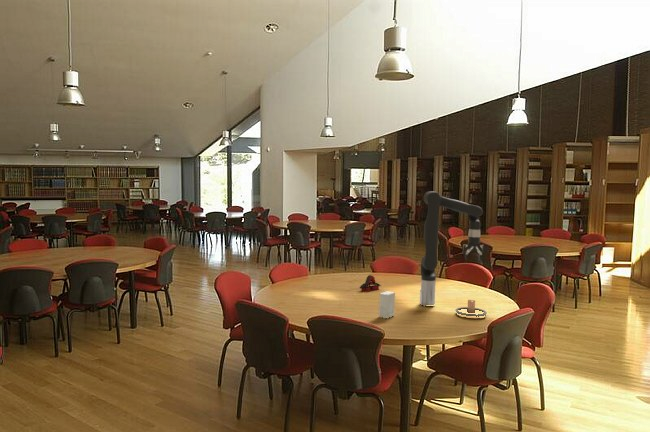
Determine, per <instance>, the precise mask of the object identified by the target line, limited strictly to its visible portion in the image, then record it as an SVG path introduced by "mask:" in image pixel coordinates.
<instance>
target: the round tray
mask: <svg viewBox="0 0 650 432" xmlns="http://www.w3.org/2000/svg"><path fill="white" fill-rule="evenodd" d="M461 309H468V306H462V307H457V308H455V311H456V312H457V313H458V314H461V315H466V316H476V317H477V316H478V317H479V316H484V315H486V314H487V313H488V312H487V311H486V310H485V309H481V308H478V307H475V310H479V311H482V312H484V313H483V314H478V315H476V314H466V313H462V312H459V311H458V310H461Z"/></svg>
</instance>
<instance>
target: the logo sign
mask: <svg viewBox="0 0 650 432" xmlns="http://www.w3.org/2000/svg"><path fill="white" fill-rule="evenodd" d="M380 287H382V285H381V284H380V283H378V282H376V280H375V276H373V275H371V274H368V275H367V277H366V279H365V282H364V283H362V284H361V285H360V286H359V289H360V290H361V292H371V291H378V290H379V289H380Z"/></svg>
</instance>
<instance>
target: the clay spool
mask: <svg viewBox="0 0 650 432" xmlns="http://www.w3.org/2000/svg"><path fill="white" fill-rule="evenodd" d="M467 307H468V309H467V312H468V313H475V308H476V300H474V299H467Z"/></svg>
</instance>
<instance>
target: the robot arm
mask: <svg viewBox="0 0 650 432" xmlns="http://www.w3.org/2000/svg"><path fill="white" fill-rule="evenodd" d="M423 202H424V203H425V204H426V205H427V216H426V218H425V220H424V221H425V222H424V226H423V239H424V246H425V255H423V256H422V257H421V261H420V275H421V277H420V278H421V284H420V291H419V292H420V293H419V304H421V305H434V304H435V303H436V300H435V299H436V280H437V275H436V271H435V270H436V269H437V267H438V264H439V263H438V243H439V242H438V239H439V223H440V221H439V220H440V218H439V217H440V216H439V215H440V207H443V208H446V209H450V210H451V211H454V212H458V213H461V214H466V215H468V221H469V222H468V223H469V226H468V227H469V228H468V234H467V236H468V238H467V239H468V241H467V244H464V243H463V244H462V253H463V254H464V259H465V260H466V261H468V258H469V253H470V252H477V253H478V261H481V260H482V258H483V257H482V256H483V255H485V254H486V250H485V249H486V246H485V245H484V244H481V221H480V220H479V217H481V216H482V215H483V213H484V210H483V208H482V207H480V206H479V205H474V204H469V203H468V202H464V201H461V200H457V199H453V198H448V197H444V196H443V195H442V196H441V195H440V193H439V192H437V191H435V190H434V191H431V190H430V191H426V192H425V193H424V195H423ZM466 248H467V249H466ZM480 249H481V250H480ZM421 305H420V306H421Z"/></svg>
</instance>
